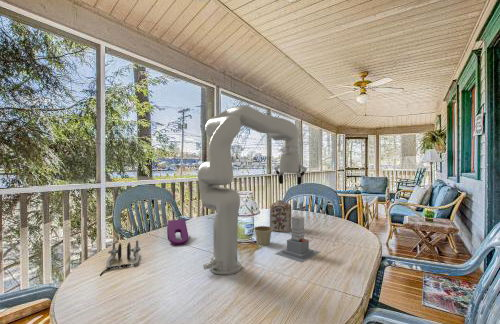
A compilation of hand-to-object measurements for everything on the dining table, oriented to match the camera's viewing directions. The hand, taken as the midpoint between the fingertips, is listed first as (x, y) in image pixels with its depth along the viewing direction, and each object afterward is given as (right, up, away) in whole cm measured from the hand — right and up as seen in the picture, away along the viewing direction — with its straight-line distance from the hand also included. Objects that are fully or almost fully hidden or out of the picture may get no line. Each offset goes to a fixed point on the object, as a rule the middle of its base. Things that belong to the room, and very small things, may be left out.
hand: (290, 184), depth 132 cm
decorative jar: (-1, -31, +27) cm, 41 cm away
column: (+1, -28, -17) cm, 33 cm away
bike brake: (-73, -31, -26) cm, 84 cm away
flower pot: (-14, -31, -4) cm, 34 cm away
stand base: (+1, -31, -17) cm, 35 cm away
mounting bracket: (-59, -31, +5) cm, 67 cm away
